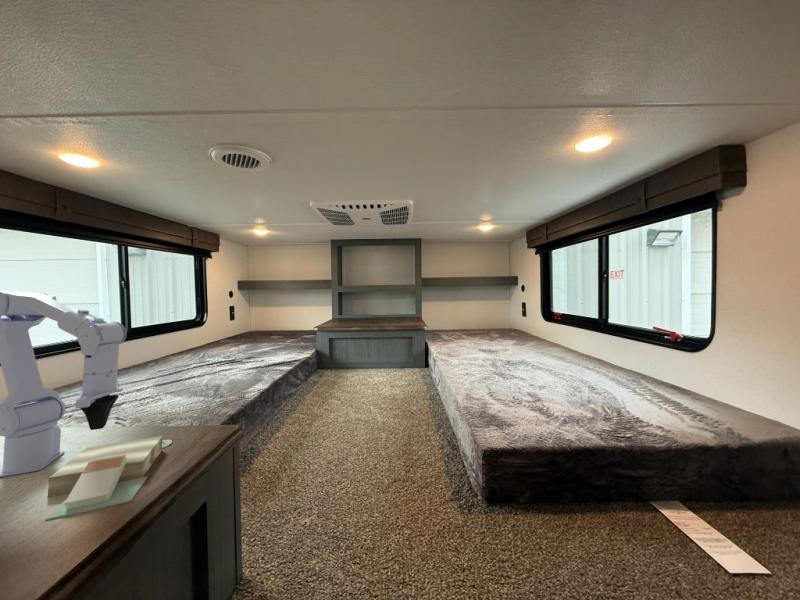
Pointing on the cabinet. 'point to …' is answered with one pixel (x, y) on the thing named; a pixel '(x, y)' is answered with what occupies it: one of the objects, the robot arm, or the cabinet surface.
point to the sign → (166, 443)
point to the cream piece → (136, 452)
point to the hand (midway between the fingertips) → (97, 428)
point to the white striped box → (96, 482)
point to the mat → (120, 495)
